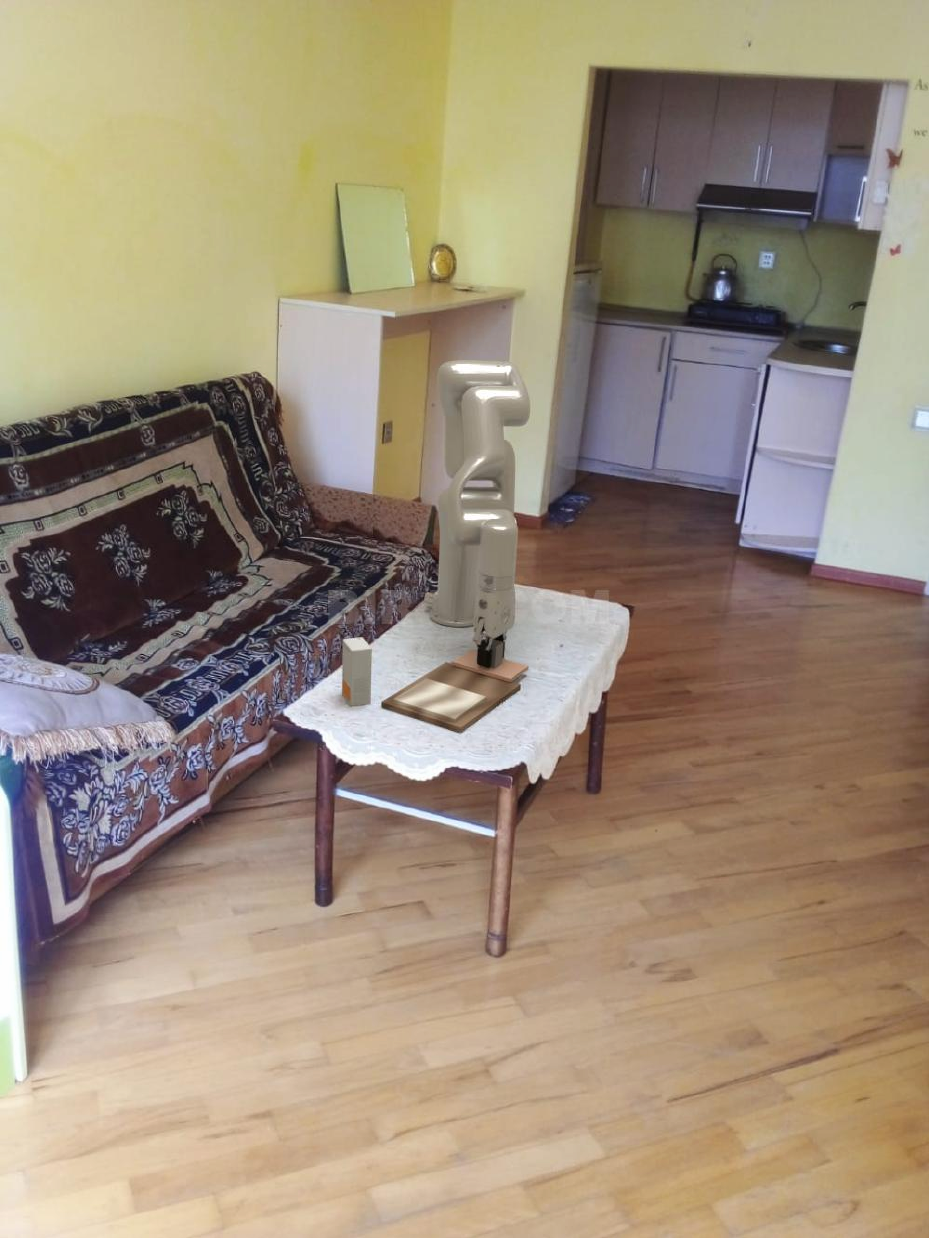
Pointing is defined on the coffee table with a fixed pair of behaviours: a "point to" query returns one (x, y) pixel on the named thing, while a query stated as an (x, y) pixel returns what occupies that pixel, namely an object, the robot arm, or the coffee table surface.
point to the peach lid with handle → (492, 663)
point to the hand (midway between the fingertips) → (490, 660)
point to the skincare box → (356, 671)
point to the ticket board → (451, 697)
